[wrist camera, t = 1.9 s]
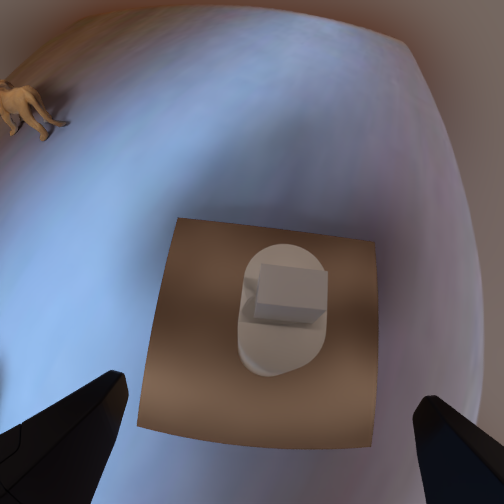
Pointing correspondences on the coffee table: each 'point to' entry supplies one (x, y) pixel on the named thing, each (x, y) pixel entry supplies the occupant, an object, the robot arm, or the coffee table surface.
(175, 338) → the walnut dock
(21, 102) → the lion figurine
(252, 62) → the coffee table surface
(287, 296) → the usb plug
